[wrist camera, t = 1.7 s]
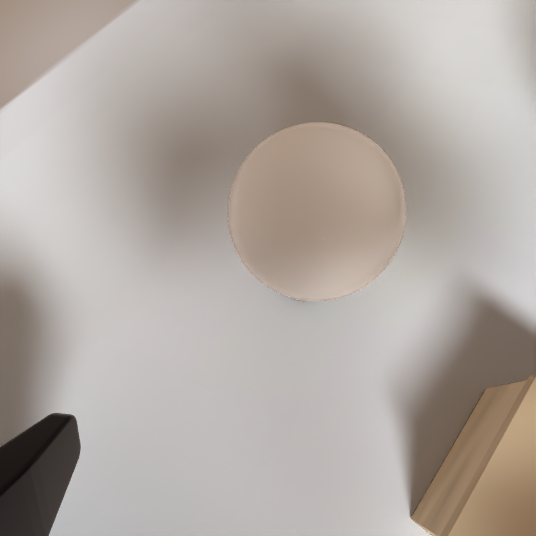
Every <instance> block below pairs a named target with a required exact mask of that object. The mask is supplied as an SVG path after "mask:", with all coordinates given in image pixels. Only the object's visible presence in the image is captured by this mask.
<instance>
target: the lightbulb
mask: <svg viewBox="0 0 536 536" xmlns="http://www.w3.org/2000/svg"><path fill="white" fill-rule="evenodd" d="M405 223H406V198H405V192H404V188H403V184H402V181H401V178H400V176H399V173H398V171H397V169H396V167H395V166H394V164H393V162H392V161H391V159H390V158H389V157H388V155H387V154H386V153H385V152H384V151H383V150H382V149H381V148H380V147H379V146H378V145H377V144H376V143H375V142H374V141H372V140H371V139H370V138H368V137H367V136H365V135H364V134H362V133H360V132H358V131H356V130H354V129H352V128H349V127H346V126H343V125H339V124H335V123H328V122H308V123H302V124H297V125H293V126H290V127H287V128H285V129H282V130H280V131H278V132H276V133H274V134H272V135H271V136H269V137H268V138H266V139H265V140H263V141H262V142H261V143H260V144H259V145H257V146H256V147H255V148H254V149H253V150H252V151H251V152H250V154H249V155H248V156H247V157H246V159H245V160H244V162H243V163H242V165H241V166H240V168H239V170H238V172H237V174H236V176H235V178H234V181H233V184H232V187H231V190H230V195H229V201H228V225H229V231H230V235H231V239H232V242H233V245H234V247H235V249H236V252H237V254H238V256H239V257H240V259H241V261H242V262H243V264H244V265H245V266H246V268H247V269H248V270H249V271H250V272H251V273H252V274H253V275H254V276H255V277H256V278H257V279H258V280H259V281H260V282H261V283H263V284H264V285H265V286H267V287H268V288H270V289H272V290H274V291H275V292H278V293H280V294H282V295H284V296H287V297H290V298H292V299H294V300H298V301H327V300H334V299H338V298H341V297H345V296H347V295H350V294H352V293H355V292H356V291H358V290H360V289H362V288H364V287H365V286H367V285H368V284H369V283H371V282H372V281H373V280H375V279H376V278H377V277H378V276H379V275H380V274H381V273H382V272H383V271H384V270H385V268H386V267H387V266H388V265H389V263H390V262H391V260H392V259H393V257H394V255H395V254H396V252H397V250H398V247H399V245H400V242H401V240H402V237H403V233H404V229H405Z"/></svg>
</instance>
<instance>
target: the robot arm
mask: <svg viewBox="0 0 536 536" xmlns="http://www.w3.org/2000/svg"><path fill="white" fill-rule="evenodd" d="M80 448H81V446H80V439H79V433H78V426H77V421H76V418H75V417H74V416H73V415H70V414H61V413H53V414H50V415H48V416H47V417H45V418H44V419H42V420H41V421H39V422H38V423H36V424H35V425H33V426H32V427H30V428H29V429H27V430H26V431H24V432H23V433H21V434H20V435H18V436H16V437H15V438H13V439H12V440H10V441H9V442H7V443H6V444H4V445H3V446H1V447H0V536H48V535H49V533H50V530H51V528H52V526H53V523H54V520H55V518H56V515H57V513H58V510H59V508H60V505H61V503H62V500H63V497H64V495H65V492H66V490H67V487H68V485H69V482H70V479H71V477H72V474H73V472H74V469H75V467H76V464H77V461H78V459H79V455H80Z"/></svg>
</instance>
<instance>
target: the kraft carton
mask: <svg viewBox="0 0 536 536" xmlns="http://www.w3.org/2000/svg"><path fill="white" fill-rule="evenodd" d="M411 519H412V520H413V521H415V522H416V523H417V524H418V525H420V526H421V527H422V528H423V529H425V530H426V531H427V532H429V533H430V534H431V535H432V536H536V375H532V376H529V377H528V379H527V380H526V381H521V382H516V383H511V384H506V385H500V386H495V387H490V388H486V389H485V391H484V393H483V395H482V396H481V398H480V400H479V402H478V403H477V405H476V407H475V408H474V410H473V412H472V414H471V415H470V417H469V419H468V420H467V422H466V424H465V426H464V427H463V429H462V431H461V433H460V434H459V436H458V438H457V439H456V441H455V443H454V445H453V446H452V448H451V450H450V451H449V453H448V455H447V457H446V458H445V460H444V462H443V464H442V465H441V467H440V469H439V470H438V472H437V474H436V476H435V477H434V479H433V481H432V482H431V484H430V486H429V488H428V489H427V491H426V493H425V495H424V496H423V498H422V500H421V501H420V503H419V505H418V507H417V508H416V510H415V512H414V513H413V515H412V517H411Z"/></svg>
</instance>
